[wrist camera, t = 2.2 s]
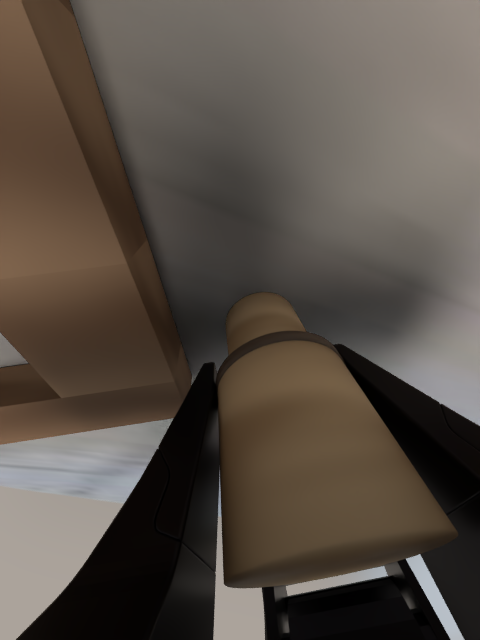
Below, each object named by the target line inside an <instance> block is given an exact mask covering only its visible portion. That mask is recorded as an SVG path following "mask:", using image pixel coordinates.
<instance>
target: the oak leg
mask: <svg viewBox="0 0 480 640" xmlns="http://www.w3.org/2000/svg"><path fill="white" fill-rule="evenodd" d="M226 335H227V345H228V355H229V356H228V357H227V358H226V359H225V360H224V362H223V363H222V365H221V366H220V368H219V371H218V373H217V377H216V396H217V400H218V426H219V455H220V485H221V514H222V543H223V570H224V571H223V572H224V584H225V585H226V586H227V587H232V588H259V587H271V586H280V585H287V584H294V583H301V582H307V581H312V580H318V579H323V578H328V577H333V576H338V575H343V574H348V573H352V572H357V571H361V570H365V569H369V568H373V567H377V566H381V565H385V564H389V563H392V562H396V561H399V560H403V559H406V558H409V557H413V556H416V555H418V554H422V553H425V552H427V551H430V550H433V549H435V548H438V547H440V546H442V545H445V544H447V543H449V542H450V541H452V540H454V539H455V538H456V537H457V536H458V532H457V530H456V529H455V527H454V526H453V524H452V523H451V521H450V520H449V518H448V517H447V515H446V514H445V513H444V511H443V510H442V508H441V507H440V505H439V504H438V502H437V501H436V499H435V498H434V496H433V495H432V493H431V492H430V490H429V489H428V487H427V486H426V484H425V483H424V481H423V480H422V478H421V477H420V475H419V474H418V472H417V471H416V470H415V468H414V467H413V465H412V464H411V462H410V461H409V459H408V458H407V456H406V455H405V453H404V452H403V450H402V449H401V447H400V446H399V444H398V443H397V441H396V440H395V438H394V437H393V435H392V434H391V432H390V431H389V429H388V428H387V427H386V425H385V424H384V422H383V421H382V419H381V418H380V416H379V415H378V413H377V412H376V410H375V409H374V407H373V406H372V404H371V403H370V401H369V400H368V398H367V397H366V395H365V394H364V392H363V391H362V389H361V388H360V386H359V385H358V384H357V382H356V381H355V379H354V378H353V376H352V375H351V373H350V372H349V370H348V369H347V367H346V366H345V363H344V361H343V358H342V357H341V355H340V354H339V353H338V351H337V350H336V348H335V347H334V346H333V344H331V343H330V342H329V341H328V340H326V339H325V338H323V337H321V336H319V335H316V334H313V333H309V332H306V330H305V328H304V326H303V325H302V323H301V321H300V319H299V318H298V316H297V314H296V313H295V311H294V309H293V307H292V306H291V304H290V303H289V302H288V301H287V300H286V299H285V298H284V297H282V296H280V295H278V294H275V293H270V292H259V293H254V294H251V295H248V296H246V297H244V298H242V299H241V300H239V301H238V302H237V303H236V304H235V305H234V306H233V307H232V308H231V309H230V311H229V313H228V315H227V318H226Z"/></svg>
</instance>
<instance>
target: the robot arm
mask: <svg viewBox="0 0 480 640" xmlns="http://www.w3.org/2000/svg"><path fill="white" fill-rule="evenodd" d="M333 346H334V347H335V348H336V350H337V351H338V353H339V354H340V355H341V357H342V358H343V361H344V363H345V366H346V367H347V369H348V370H349V372H350V373H351V375H352V376H353V378H354V379H355V381H356V382H357V384H358V385H359V386H360V388H361V389H362V391H363V392H364V394H365V395H366V397H367V398H368V400H369V401H370V403H371V404H372V406H373V407H374V409H375V410H376V412H377V413H378V415H379V416H380V418H381V419H382V421H383V422H384V424H385V425H386V427H387V428H388V429H389V431H390V432H391V434H392V435H393V437H394V438H395V440H396V441H397V443H398V444H399V446H400V447H401V449H402V450H403V452H404V453H405V455H406V456H407V458H408V459H409V461H410V462H411V464H412V465H413V467H414V468H415V470H416V471H417V472H418V474H419V475H420V477H421V478H422V480H423V481H424V483H425V484H426V486H427V487H428V489H429V490H430V492H431V493H432V495H433V496H434V498H435V499H436V501H437V502H438V504H439V505H440V507H441V508H442V510H443V511H444V513H445V514H446V515H447V517H448V518H449V520H450V521H451V523H452V524H453V526H454V527H455V529H456V530H457V532H458V536H457V537H456V538H455V539H454V540H452V541H450V542H449V543H447V544H445V545H442V546H440V547H438V548H435V549H433V550H430V551H427V552H425V553H422V554H421V556H422V558H423V560H424V562H425V564H426V566H427V568H428V570H429V571H430V573H431V576H432V578H433V579H434V581H435V583H436V585H437V587H438V589H439V591H440V593H441V595H442V597H443V599H444V601H445V603H446V604H447V607H448V608H449V610H450V612H451V614H452V616H453V618H454V620H455V622H456V624H457V626H458V628H459V630H460V632H461V633H462V636H463V637H464V639H465V640H480V426H479V425H477V424H475V423H473V422H472V421H470V420H468V419H467V418H465V417H463V416H461V415H460V414H458V413H456V412H454V411H453V410H451V409H449V408H448V407H446V406H444V405H443V404H440V403H439V402H438V401H436V400H434V399H433V398H431V397H429V396H428V395H426V394H424V393H423V392H421V391H419V390H418V389H416V388H414V387H413V386H411V385H409V384H408V383H406V382H404V381H403V380H401V379H399V378H397V377H396V376H394V375H392V374H391V373H389V372H387V371H386V370H384V369H382V368H381V367H379V366H377V365H376V364H374V363H372V362H371V361H369V360H367V359H366V358H364V357H362V356H361V355H359V354H357V353H356V352H354V351H352V350H351V349H349V348H347V347H346V346H344V345H342V344H334V345H333ZM216 377H217V371H216V366H215V363H214V362H210V363H204V364H203V366H202V368H201V369H200V371H199V373H198V375H197V377H196V379H195V380H194V382H193V384H192V386H191V388H190V390H189V391H188V393H187V395H186V397H185V399H184V401H183V402H182V404H181V406H180V408H179V410H178V412H177V413H176V415H175V417H174V419H173V421H172V423H171V424H170V426H169V428H168V430H167V432H166V434H165V435H164V437H163V439H162V441H161V443H160V445H159V447H158V448H159V449H157V450H156V452H155V454H154V455H153V457H152V459H151V461H150V463H149V464H148V466H147V468H146V470H145V471H144V473H143V475H142V477H141V478H140V480H139V482H138V483H137V485H136V486H135V488H134V489H133V491H132V493H131V494H130V496H129V497H128V499H127V500H126V502H125V503H124V505H123V506H122V508H121V510H120V511H119V512H118V514H117V515H116V517H115V518H114V520H113V522H112V523H111V525H110V526H109V528H108V529H107V531H106V532H105V534H104V535H103V537H102V538H101V540H100V541H99V543H98V544H97V546H96V547H95V549H94V550H93V552H92V553H91V555H90V556H89V558H88V559H87V561H86V562H85V563H84V565H83V567H82V568H81V569H80V570H79V572H78V573H77V574H76V576H75V577H74V578H73V580H72V581H71V582H70V583H69V585H68V586H67V587H66V588H65V589H64V590H63V592H62V593H61V594H60V595H59V596H58V597H57V598H56V599H55V600H54V602H53V603H52V604H51V605H50V606H49V607H48V608H47V609H46V610H45V611H44V612H43V613H42V614H41V615H40V616H39V617H38V618H37V619H36V620H35V621H34V622H33V623H32V624H31V625H30V626H29V627H28V628H27V629H26V630H25V631H24V632H23V633H22V634H21V635H20V636H19V637H18V638H17V639H16V640H213V628H214V604H215V577H216V575H215V571H216V549H217V523H218V521H217V520H218V497H219V471H220V455H219V426H218V400H217V396H216ZM381 566H385V569H386V572H387V574H388V576H386V577H381V578H376V579H371V580H366V581H361V582H356V583H351V584H346V585H341V586H336V587H331V588H326V589H321V590H316V591H311V592H306V593H301V594H296V595H291V596H287V591H286V586H288V585H292V584H287V585H280V586H271V587H262V593H263V602H264V614H265V615H264V617H265V640H450V638H449V636H448V634H447V633H446V631H445V629H444V627H443V625H442V624H441V622H440V620H439V618H438V616H437V615H436V613H435V611H434V609H433V607H432V606H431V604H430V602H429V600H428V599H427V597H426V595H425V593H424V591H423V589H422V588H421V586H420V584H419V582H418V581H417V579H416V577H415V575H414V573H413V572H412V570H411V568H410V566H409V565H408V563H407V561H406V559H403V560H399V561H396V562H392V563H389V564H385V565H381ZM377 567H380V566H377ZM373 568H375V567H373ZM369 569H370V568H369ZM365 570H366V569H365ZM301 583H302V582H301ZM294 584H297V583H294Z"/></svg>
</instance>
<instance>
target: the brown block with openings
mask: <svg viewBox="0 0 480 640" xmlns="http://www.w3.org/2000/svg"><path fill="white" fill-rule="evenodd" d="M0 333H1V334H2V335H3V336H4V337H5V338H6V339H7V340H8V341H9V342H10V343H11V344H12V345H13V347H14V348H15V349H16V350H17V351H18V352H19V353H20V354H21V355H22V356H23V357H24V358H25V359H26V361H27V362H28V363H29V364H25V365H18V366H11V367H3V368H0V445H1V444H7V443H14V442H20V441H27V440H33V439H40V438H46V437H53V436H59V435H66V434H73V433H79V432H86V431H92V430H99V429H105V428H112V427H118V426H125V425H131V424H138V423H145V422H151V421H158V420H164V419H171V418H174V417H175V415H176V413H177V412H178V410H179V408H180V406H181V404H182V402H183V401H184V399H185V397H186V395H187V393H188V391H189V390H190V388H191V380H192V375H191V372H190V369H189V366H188V363H187V360H186V357H185V354H184V350H183V347H182V344H181V341H180V338H179V335H178V332H177V329H176V326H175V323H174V320H173V317H172V314H171V311H170V308H169V304H168V301H167V298H166V295H165V292H164V289H163V286H162V283H161V280H160V277H159V274H158V271H157V268H156V265H155V262H154V258H153V255H152V252H151V249H150V246H149V243H148V240H147V237H146V234H145V231H144V228H143V225H142V222H141V219H140V216H139V212H138V209H137V206H136V203H135V200H134V197H133V194H132V191H131V188H130V185H129V182H128V179H127V176H126V173H125V170H124V166H123V163H122V160H121V157H120V154H119V151H118V148H117V145H116V142H115V139H114V136H113V133H112V130H111V127H110V124H109V120H108V117H107V114H106V111H105V108H104V105H103V102H102V99H101V96H100V93H99V90H98V87H97V84H96V81H95V78H94V74H93V71H92V68H91V65H90V62H89V59H88V56H87V53H86V50H85V47H84V44H83V41H82V38H81V35H80V32H79V28H78V25H77V22H76V19H75V16H74V13H73V10H72V7H71V4H70V1H69V0H0Z"/></svg>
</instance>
